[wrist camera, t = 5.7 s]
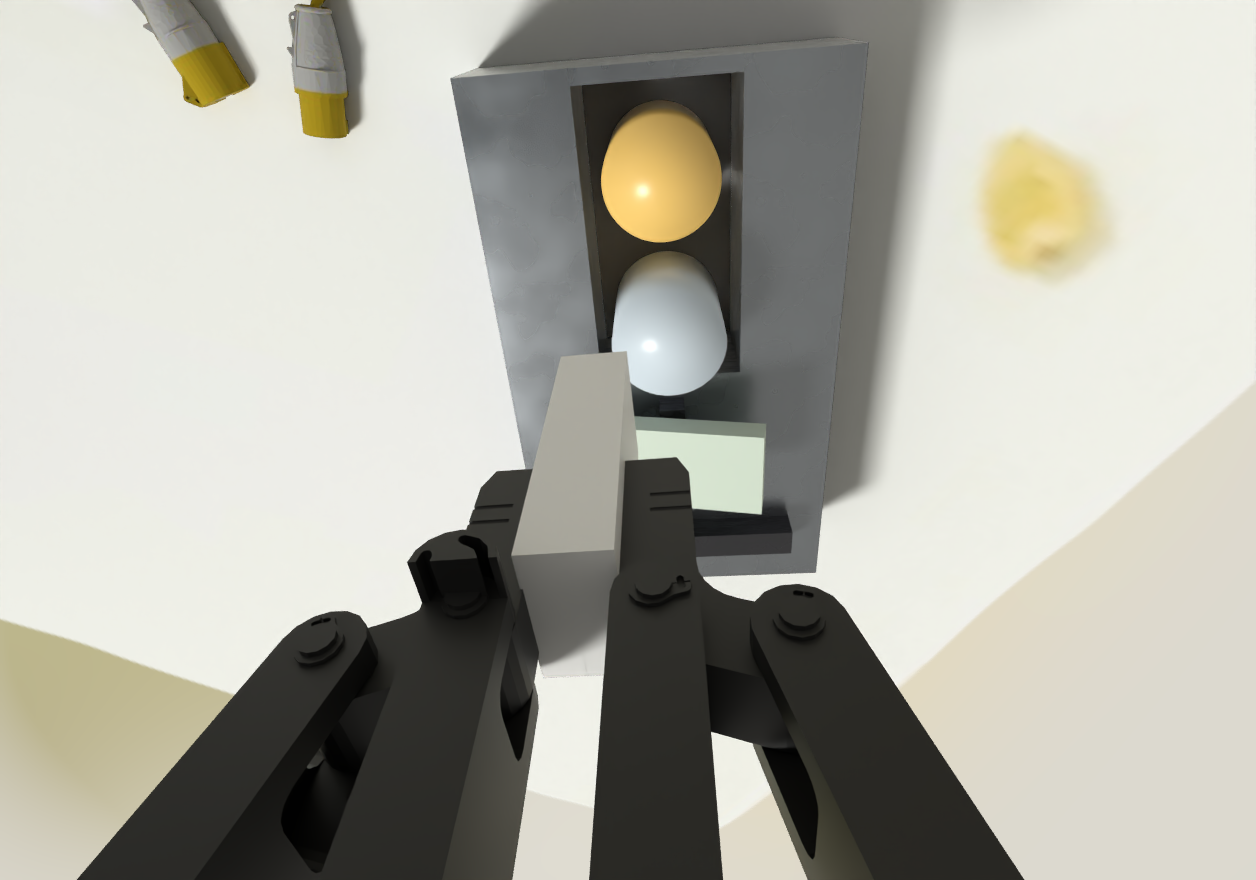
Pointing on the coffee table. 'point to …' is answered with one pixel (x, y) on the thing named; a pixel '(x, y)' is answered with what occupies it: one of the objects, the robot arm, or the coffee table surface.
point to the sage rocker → (711, 459)
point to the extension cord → (219, 77)
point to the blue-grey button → (669, 324)
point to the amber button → (661, 172)
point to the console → (759, 259)
